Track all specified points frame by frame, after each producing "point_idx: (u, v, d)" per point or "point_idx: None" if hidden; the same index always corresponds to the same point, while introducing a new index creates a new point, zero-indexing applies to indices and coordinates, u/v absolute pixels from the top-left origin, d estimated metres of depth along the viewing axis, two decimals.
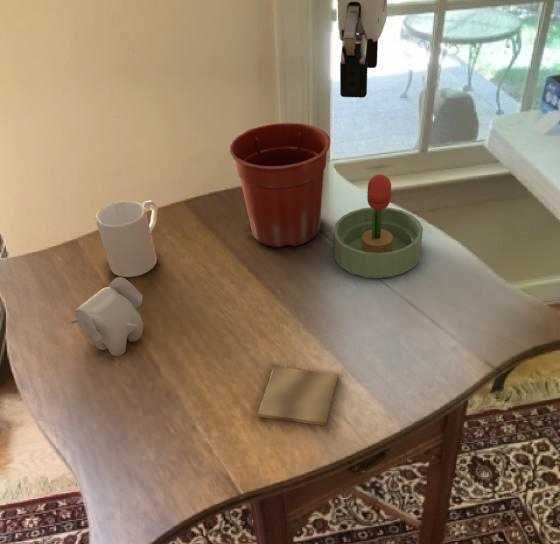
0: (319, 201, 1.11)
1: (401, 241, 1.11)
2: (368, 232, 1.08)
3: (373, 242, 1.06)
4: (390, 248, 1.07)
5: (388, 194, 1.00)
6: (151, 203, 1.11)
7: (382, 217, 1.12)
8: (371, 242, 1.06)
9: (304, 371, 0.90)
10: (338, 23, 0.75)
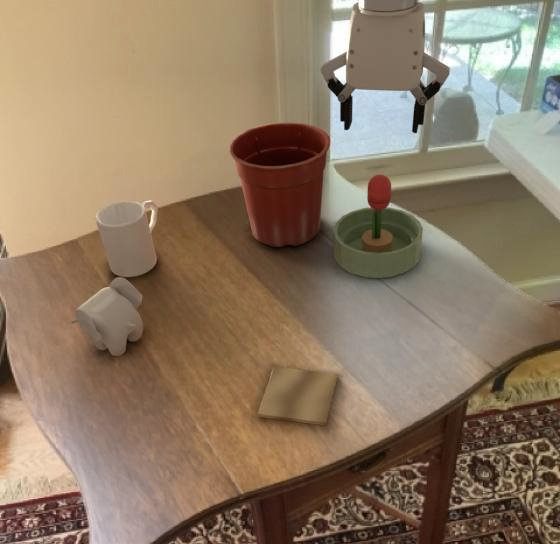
0: (319, 201, 1.11)
1: (401, 241, 1.11)
2: (368, 232, 1.08)
3: (373, 242, 1.06)
4: (390, 248, 1.07)
5: (388, 194, 1.00)
6: (151, 203, 1.11)
7: (382, 217, 1.12)
8: (371, 242, 1.06)
9: (304, 371, 0.90)
10: (419, 74, 0.86)
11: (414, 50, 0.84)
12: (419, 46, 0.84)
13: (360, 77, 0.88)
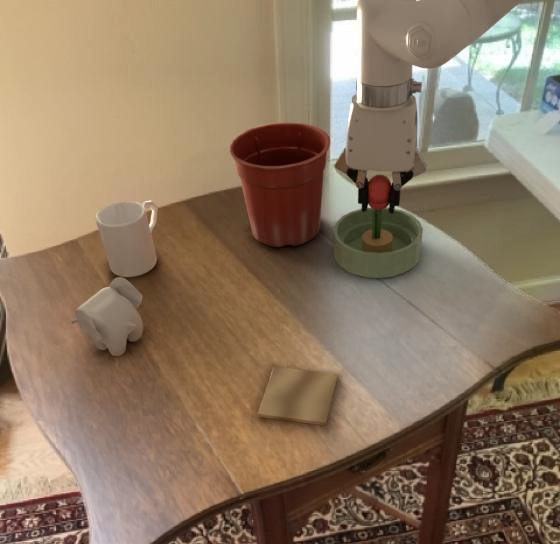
0: (319, 201, 1.11)
1: (401, 241, 1.11)
2: (368, 232, 1.08)
3: (373, 242, 1.06)
4: (390, 248, 1.07)
5: (388, 194, 1.00)
6: (151, 203, 1.11)
7: (382, 217, 1.12)
8: (371, 242, 1.06)
9: (304, 371, 0.90)
10: (412, 158, 0.95)
11: (407, 138, 0.92)
12: (412, 135, 0.92)
13: (359, 159, 0.97)
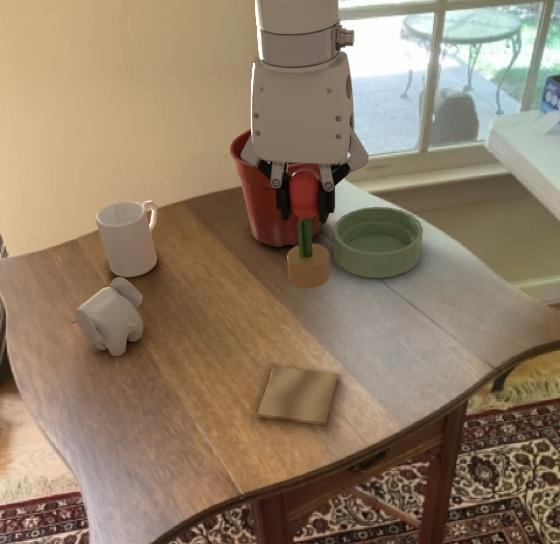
0: None
1: (401, 241, 1.11)
2: (296, 248, 0.79)
3: (302, 263, 0.77)
4: (325, 271, 0.78)
5: (317, 196, 0.71)
6: (151, 203, 1.11)
7: (382, 217, 1.12)
8: (298, 262, 0.77)
9: (304, 371, 0.90)
10: (346, 144, 0.65)
11: (336, 115, 0.63)
12: (342, 110, 0.63)
13: (271, 147, 0.67)
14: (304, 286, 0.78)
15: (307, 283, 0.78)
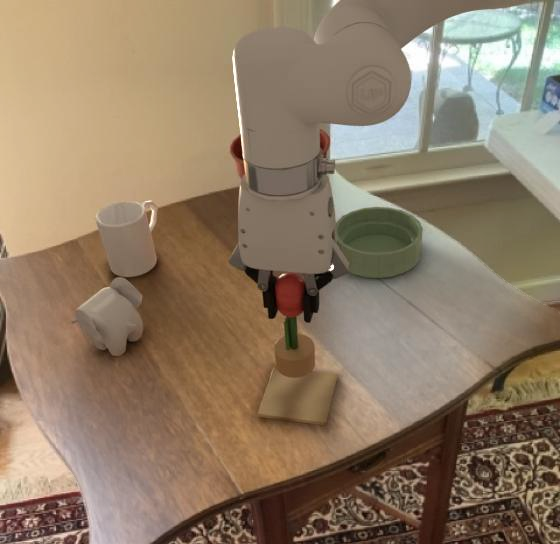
0: None
1: (401, 241, 1.11)
2: (283, 338, 0.83)
3: (288, 355, 0.80)
4: (311, 362, 0.81)
5: (302, 299, 0.75)
6: (151, 203, 1.11)
7: (382, 217, 1.12)
8: (285, 355, 0.80)
9: None
10: (328, 258, 0.69)
11: (319, 234, 0.67)
12: (324, 230, 0.66)
13: (257, 257, 0.71)
14: (290, 376, 0.81)
15: (293, 373, 0.81)
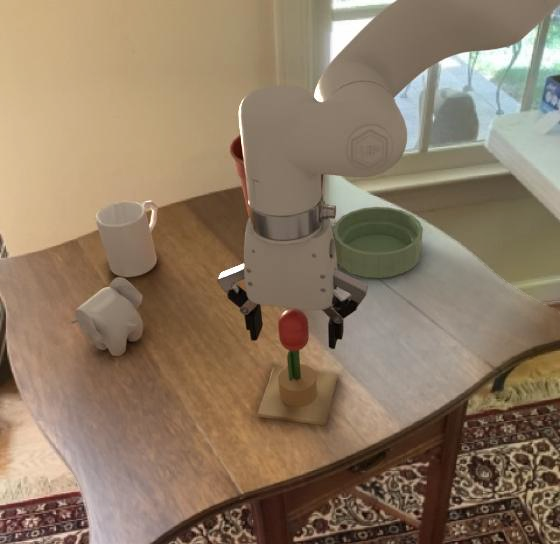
0: None
1: (401, 241, 1.11)
2: (286, 369, 0.86)
3: (291, 385, 0.84)
4: (313, 391, 0.85)
5: (304, 334, 0.78)
6: (151, 203, 1.11)
7: (382, 217, 1.12)
8: (288, 385, 0.84)
9: None
10: (330, 296, 0.72)
11: (320, 274, 0.70)
12: (326, 270, 0.70)
13: (262, 294, 0.74)
14: (293, 405, 0.85)
15: (296, 403, 0.85)
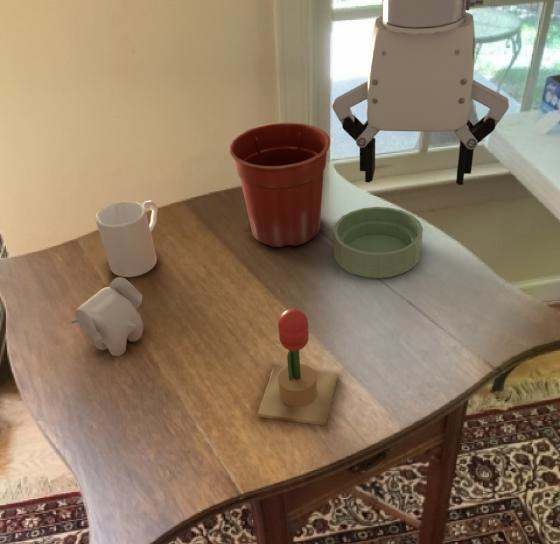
0: (319, 201, 1.11)
1: (401, 241, 1.11)
2: (286, 369, 0.86)
3: (291, 385, 0.84)
4: (313, 391, 0.85)
5: (304, 334, 0.78)
6: (151, 203, 1.11)
7: (382, 217, 1.12)
8: (288, 385, 0.84)
9: None
10: (468, 109, 0.63)
11: (461, 78, 0.61)
12: (468, 72, 0.61)
13: (387, 115, 0.65)
14: (293, 405, 0.85)
15: (296, 403, 0.85)
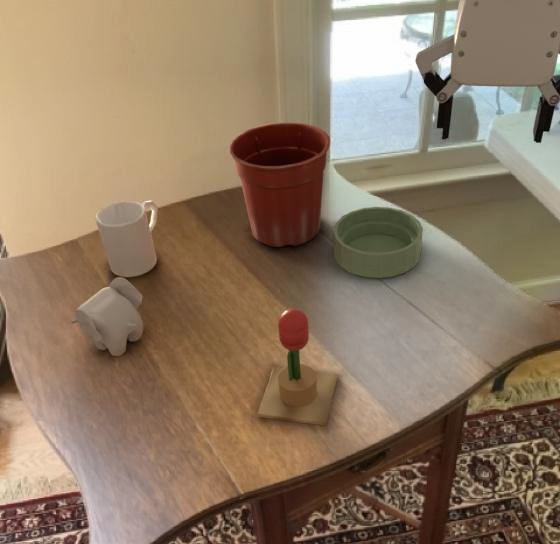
0: (319, 201, 1.11)
1: (401, 241, 1.11)
2: (286, 369, 0.86)
3: (291, 385, 0.84)
4: (313, 391, 0.85)
5: (304, 334, 0.78)
6: (151, 203, 1.11)
7: (382, 217, 1.12)
8: (288, 385, 0.84)
9: None
10: (554, 63, 0.64)
11: (552, 31, 0.62)
12: (559, 25, 0.61)
13: (472, 69, 0.66)
14: (293, 405, 0.85)
15: (296, 403, 0.85)
